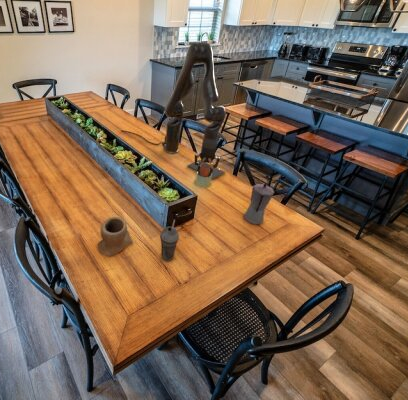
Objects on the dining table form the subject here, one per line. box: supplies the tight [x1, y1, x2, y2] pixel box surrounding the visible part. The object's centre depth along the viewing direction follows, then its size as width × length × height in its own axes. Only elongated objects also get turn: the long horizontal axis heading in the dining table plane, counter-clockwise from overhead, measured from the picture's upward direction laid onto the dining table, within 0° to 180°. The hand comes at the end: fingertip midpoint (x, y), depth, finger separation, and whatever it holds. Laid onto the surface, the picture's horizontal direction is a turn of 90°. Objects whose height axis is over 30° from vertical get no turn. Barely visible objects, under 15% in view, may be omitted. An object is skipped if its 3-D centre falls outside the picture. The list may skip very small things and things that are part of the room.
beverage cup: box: [159, 219, 180, 262], centre depth 104 cm, size 7×7×20 cm
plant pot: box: [200, 162, 211, 177], centre depth 152 cm, size 6×6×11 cm
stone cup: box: [96, 216, 133, 257], centre depth 108 cm, size 15×12×15 cm
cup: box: [194, 171, 212, 188], centre depth 154 cm, size 9×9×6 cm
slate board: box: [187, 159, 226, 181], centre depth 167 cm, size 20×12×2 cm, turn 44°
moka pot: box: [243, 183, 275, 225], centre depth 126 cm, size 10×15×20 cm, turn 161°
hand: (204, 172), depth 151 cm, fingers closed on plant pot, 6 cm apart
